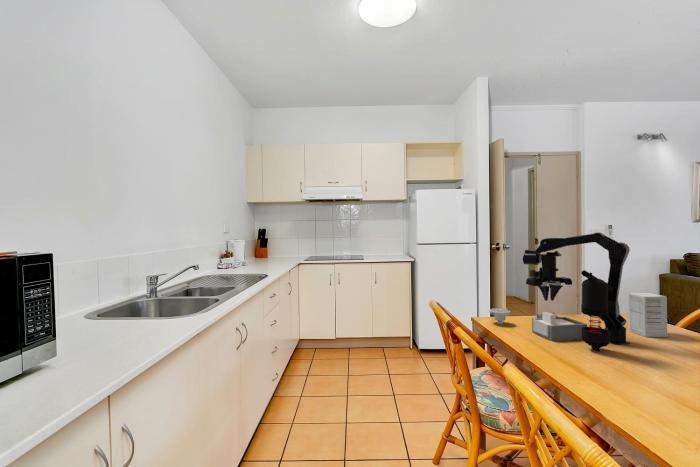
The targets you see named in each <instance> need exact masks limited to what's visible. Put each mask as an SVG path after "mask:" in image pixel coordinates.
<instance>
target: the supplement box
mask: <svg viewBox="0 0 700 467" xmlns="http://www.w3.org/2000/svg"><path fill="white" fill-rule="evenodd" d="M627 301H628V304H627V308H628V309H627V310H628V313H627V314H628V316H627V317H628V318H627V319H628V322H627V325H628V330H627V331H628V332H631V333H634V334H636V335H639V336H642V337H645V338H657V337H658V338H664V337H665V338H666V337H668V306H667V305H668V302H667V301H668V300H667V296H666V295H661V294H655V293H650V292H627Z"/></svg>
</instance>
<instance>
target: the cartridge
mask: <svg viewBox="0 0 700 467" xmlns="http://www.w3.org/2000/svg"><path fill="white" fill-rule="evenodd" d="M541 314H542V320H535V319H534V318H532V319H533V330H534V331H536V332H538V333H540V334H543V335H545V336H547V337H549V325H566V324H574V323H571V322H568V321H566V320H563V319H556V316H557V314H552V313H549V312H544V311H542V312H541Z"/></svg>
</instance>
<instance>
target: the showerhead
mask: <svg viewBox="0 0 700 467" xmlns="http://www.w3.org/2000/svg"><path fill="white" fill-rule="evenodd" d="M488 312H489V314H491V315H493V316H494V317H493V318H494V320H495V321H497V322H496V323H497V324H498V325H503V322H504V321H506V317H508V316H511V312H512V311H511V310H509V308H508V307H506V308H501V307H496V308H494V307H493V308H490V309H489V310H488Z"/></svg>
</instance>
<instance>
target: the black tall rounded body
mask: <svg viewBox="0 0 700 467" xmlns="http://www.w3.org/2000/svg"><path fill="white" fill-rule="evenodd" d="M580 274H581V275H582V276H583V277H584V278H586V279H584V280H583V281H582V282H581V304H580V306H581V307H580V310H581V311H580V312H581V313H582V314H583V315H585V316H588V317H589V318H590V319H589V320H588V321H589V324H590V325H589V326H587V327H582V328H581V330H582V339H581V340H582V341H583V342H584V343H585V344H586V345H588V346H589V347H591V350H592V351H593V352H594V351H595V352H600V351H601V348H604V347H607V346H608V345H609V344H611V343H610V334H611V332H610V331H609V330H606V329H605V328H602V326H601V323H602V320H600V318H601V317H606V316H608V292H613V291H614V289H613V288H612V287H610V286H609V285H607V284H608V281H607V282H606V281H605V280H604V279H601V278H598V277H597V276H595V275H593V273H592V272H589V271H587V270H585V269H583V270H581V272H580ZM592 318H595V319H592ZM596 318H597V319H596ZM595 324H598V325H595Z"/></svg>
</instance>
